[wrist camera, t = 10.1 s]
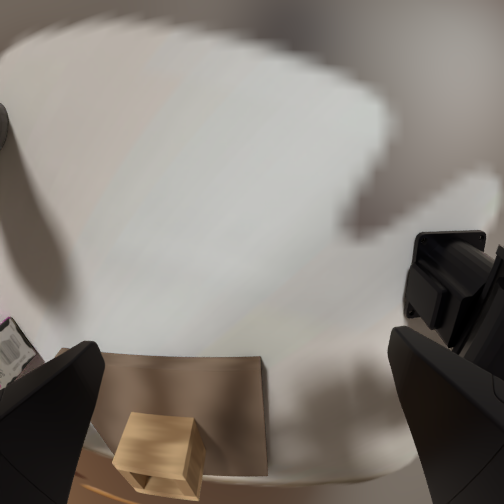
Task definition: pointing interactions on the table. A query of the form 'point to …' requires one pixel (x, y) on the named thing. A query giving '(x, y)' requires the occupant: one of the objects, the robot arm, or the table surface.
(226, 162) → the table surface
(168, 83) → the table surface
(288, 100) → the table surface
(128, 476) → the oak collar
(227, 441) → the pin board
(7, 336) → the candy bar box
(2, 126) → the beverage cup
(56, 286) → the table surface
